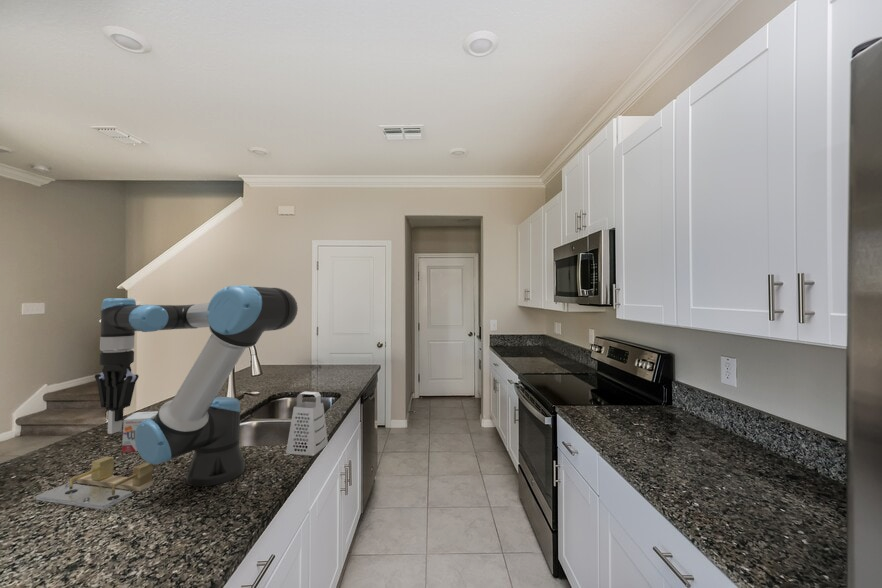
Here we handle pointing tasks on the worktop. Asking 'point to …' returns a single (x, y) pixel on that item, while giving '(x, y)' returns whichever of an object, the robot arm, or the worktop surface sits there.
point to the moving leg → (97, 470)
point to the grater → (307, 426)
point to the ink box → (133, 429)
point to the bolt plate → (84, 496)
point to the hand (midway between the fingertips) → (114, 431)
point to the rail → (125, 479)
